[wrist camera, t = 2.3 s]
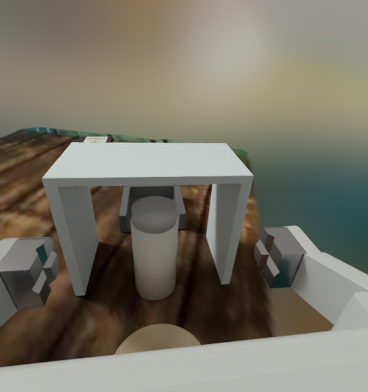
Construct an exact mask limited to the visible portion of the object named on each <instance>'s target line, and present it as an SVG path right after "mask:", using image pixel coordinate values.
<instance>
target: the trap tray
mask: <svg viewBox="0 0 368 392" xmlns="http://www.w3.org/2000/svg"><path fill="white" fill-rule="evenodd" d="M149 196H161V197H166V198H168V199H171V200H172V201H173V202H174V203H175V204H176V206H177V217H178V229H185V223H186V211H185V207H184V203H183V199H182V195H181V190H180V186H179V185H130V186H124V191H123V197H122V203H121V208H120V214H119V219H120V228H121V232H131V223H130V221H131V217H132V205H133V204H134V203H135V202H136V201H137V200H139V199H141V198H144V197H149Z"/></svg>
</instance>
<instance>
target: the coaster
mask: <svg viewBox="0 0 368 392" xmlns="http://www.w3.org/2000/svg"><path fill="white" fill-rule="evenodd" d="M199 345H201V344H200V342H199V341H198V340H197V339H196V338H195V337H194V336H193V335H192V334H191V333H189V332H188V331H186V330H185V329H183V328H180V327H178V326H175V325H170V324H154V325H150V326H147V327H144V328H142V329H140V330H138V331H136V332H134V333H133V334H132V335H130V336H129V337H128V338H127V339H126V340H125V341H124V342H123V343H122V344H121V345H120V346H119V348H118V349H117V351H116V352H115V354H114V355H117V354H126V353H135V352H144V351H153V350H162V349H171V348H181V347H190V346H199Z"/></svg>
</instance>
